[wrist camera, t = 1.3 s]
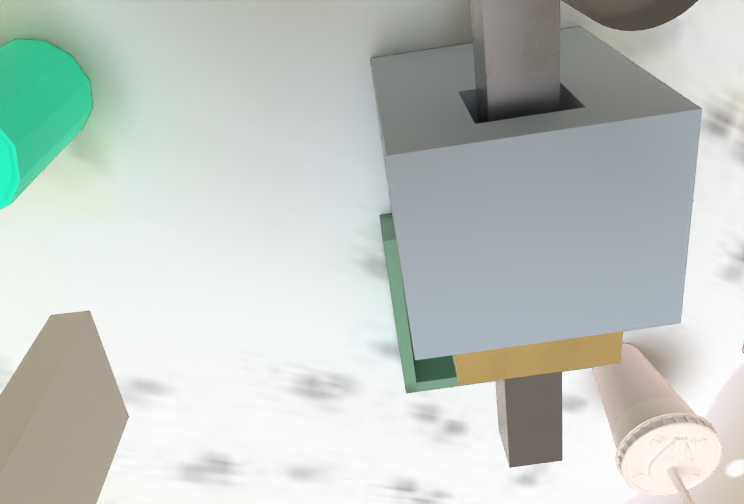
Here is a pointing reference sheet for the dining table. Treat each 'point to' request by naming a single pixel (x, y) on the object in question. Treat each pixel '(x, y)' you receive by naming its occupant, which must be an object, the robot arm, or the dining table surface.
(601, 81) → the bearing block
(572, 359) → the spacer
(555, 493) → the dining table surface
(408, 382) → the tray
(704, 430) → the smoothie
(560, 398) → the l-shaped bracket
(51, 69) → the candle
